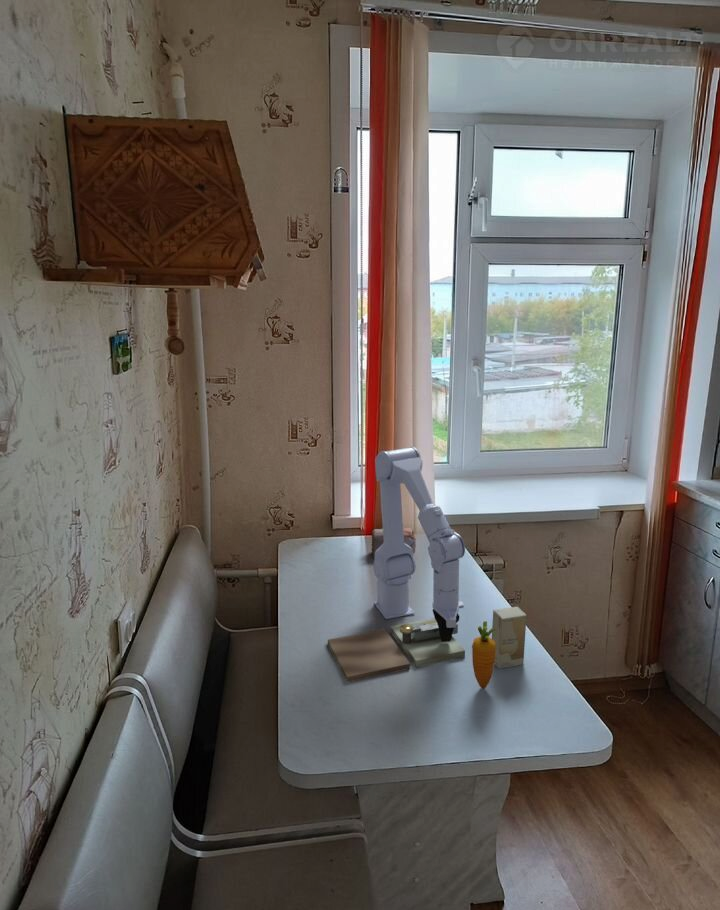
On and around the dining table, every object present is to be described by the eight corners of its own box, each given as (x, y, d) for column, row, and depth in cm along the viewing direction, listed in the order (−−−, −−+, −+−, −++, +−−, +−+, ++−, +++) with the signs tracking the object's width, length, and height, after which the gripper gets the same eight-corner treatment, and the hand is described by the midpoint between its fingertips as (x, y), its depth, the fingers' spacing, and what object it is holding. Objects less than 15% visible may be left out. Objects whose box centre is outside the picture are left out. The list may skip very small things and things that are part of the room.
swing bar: (402, 645, 144) (402, 632, 144) (397, 638, 147) (397, 625, 147) (458, 634, 148) (458, 621, 148) (452, 627, 151) (452, 615, 151)
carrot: (478, 678, 134) (479, 615, 131) (499, 687, 131) (501, 622, 128) (466, 689, 131) (467, 624, 127) (487, 698, 128) (489, 632, 124)
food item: (412, 548, 205) (412, 520, 202) (416, 558, 197) (416, 528, 195) (370, 551, 203) (370, 522, 201) (373, 561, 196) (373, 531, 193)
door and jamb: (327, 644, 149) (327, 629, 148) (435, 623, 157) (435, 609, 156) (347, 681, 134) (346, 665, 133) (464, 656, 143) (465, 641, 142)
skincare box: (499, 669, 138) (500, 619, 135) (489, 658, 142) (491, 609, 139) (525, 664, 139) (527, 614, 136) (515, 654, 143) (517, 605, 140)
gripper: (470, 600, 135) (469, 656, 138) (457, 572, 149) (456, 623, 152) (437, 601, 135) (437, 658, 138) (428, 573, 149) (427, 624, 152)
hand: (445, 640), depth 145 cm, fingers closed
